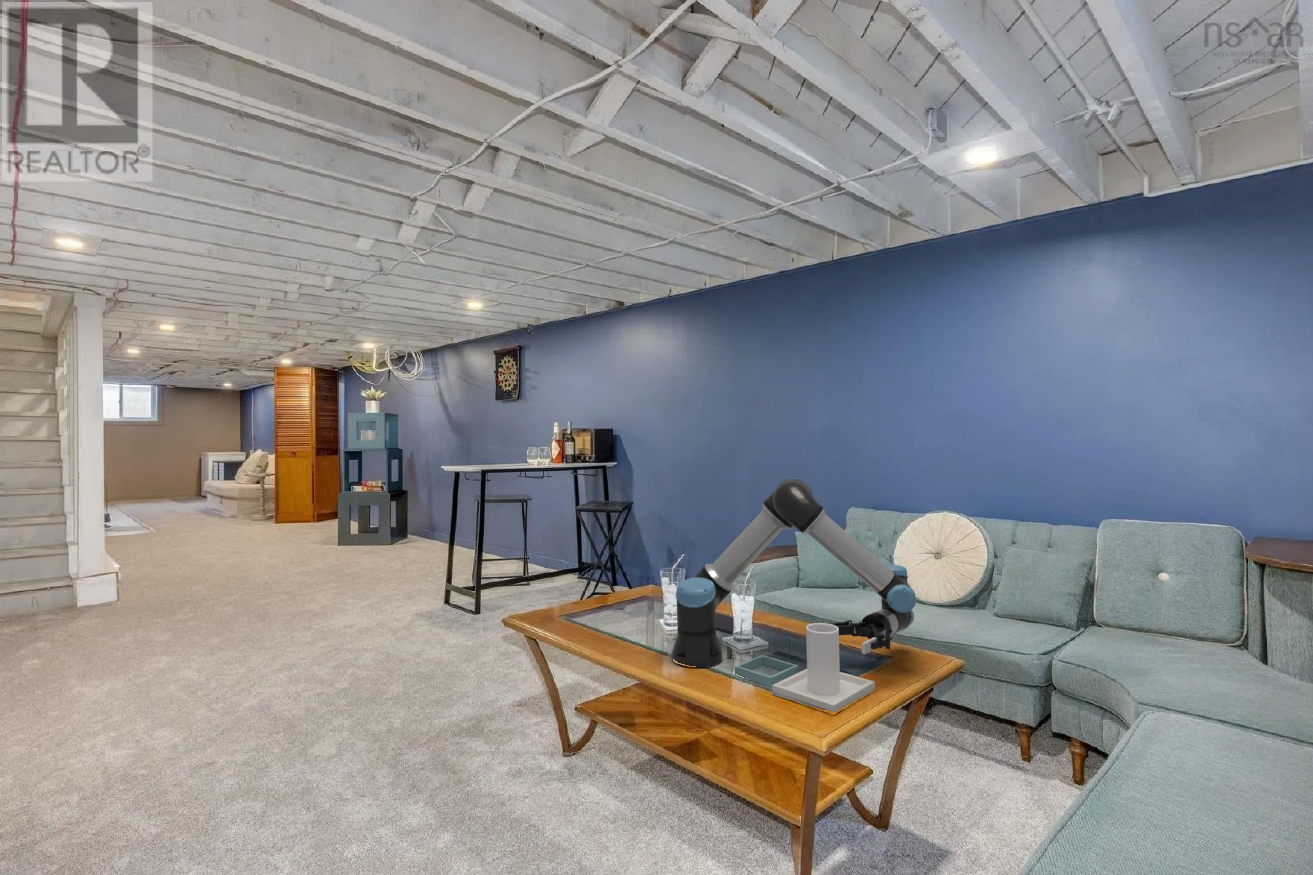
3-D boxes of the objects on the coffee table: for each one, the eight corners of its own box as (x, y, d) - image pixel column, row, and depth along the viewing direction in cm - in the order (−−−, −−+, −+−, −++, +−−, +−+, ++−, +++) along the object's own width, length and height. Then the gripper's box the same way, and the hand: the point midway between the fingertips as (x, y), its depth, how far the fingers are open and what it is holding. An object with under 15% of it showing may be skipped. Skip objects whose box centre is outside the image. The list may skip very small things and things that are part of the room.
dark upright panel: (687, 623, 231) (732, 636, 216) (687, 619, 231) (732, 631, 216) (711, 616, 240) (756, 627, 224) (711, 612, 240) (756, 623, 224)
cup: (804, 683, 170) (803, 623, 170) (835, 682, 170) (834, 622, 170) (811, 695, 162) (809, 632, 162) (843, 695, 162) (842, 632, 162)
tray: (834, 715, 153) (833, 705, 153) (772, 694, 166) (772, 685, 166) (875, 691, 166) (874, 681, 166) (815, 673, 179) (815, 664, 179)
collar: (771, 687, 170) (771, 678, 170) (734, 675, 180) (734, 666, 180) (798, 674, 179) (798, 665, 179) (762, 663, 188) (762, 654, 188)
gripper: (921, 647, 177) (884, 668, 162) (841, 629, 195) (800, 646, 180) (920, 620, 176) (883, 639, 162) (840, 604, 195) (800, 619, 180)
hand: (839, 643), depth 171 cm, fingers open, 13 cm apart
